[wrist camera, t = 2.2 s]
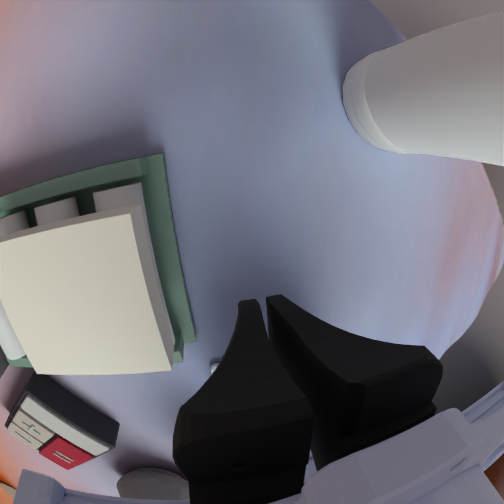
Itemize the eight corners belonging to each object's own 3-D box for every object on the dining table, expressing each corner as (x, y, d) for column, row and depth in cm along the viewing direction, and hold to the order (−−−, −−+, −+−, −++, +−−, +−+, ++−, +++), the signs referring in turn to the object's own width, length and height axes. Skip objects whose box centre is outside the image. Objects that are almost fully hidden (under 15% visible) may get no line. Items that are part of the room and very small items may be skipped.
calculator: (2, 430, 19) (22, 394, 17) (12, 408, 23) (38, 365, 21) (69, 473, 23) (115, 453, 21) (75, 450, 27) (121, 423, 25)
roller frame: (163, 153, 17) (139, 153, 10) (196, 335, 22) (198, 404, 15) (-36, 211, 15) (-89, 236, 8) (11, 347, 20) (-20, 394, 13)
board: (140, 204, 14) (130, 213, 12) (174, 345, 17) (172, 370, 15) (3, 235, 13) (-18, 247, 11) (48, 353, 16) (37, 373, 14)
